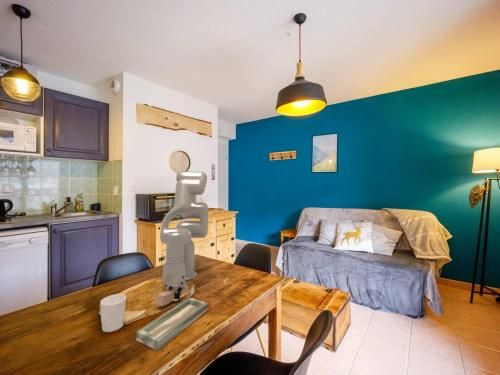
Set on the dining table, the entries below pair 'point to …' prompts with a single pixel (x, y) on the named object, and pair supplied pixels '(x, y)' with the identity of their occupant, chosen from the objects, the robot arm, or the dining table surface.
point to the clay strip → (168, 296)
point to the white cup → (112, 312)
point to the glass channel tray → (171, 323)
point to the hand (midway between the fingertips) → (173, 299)
